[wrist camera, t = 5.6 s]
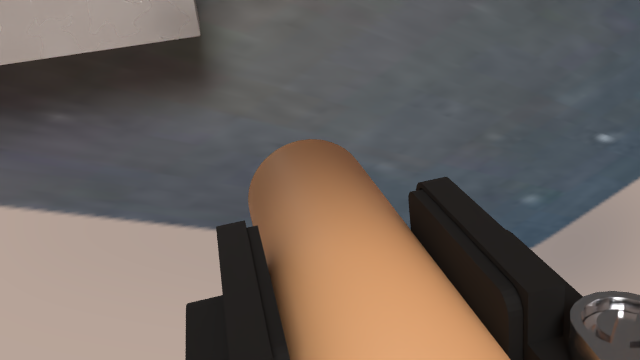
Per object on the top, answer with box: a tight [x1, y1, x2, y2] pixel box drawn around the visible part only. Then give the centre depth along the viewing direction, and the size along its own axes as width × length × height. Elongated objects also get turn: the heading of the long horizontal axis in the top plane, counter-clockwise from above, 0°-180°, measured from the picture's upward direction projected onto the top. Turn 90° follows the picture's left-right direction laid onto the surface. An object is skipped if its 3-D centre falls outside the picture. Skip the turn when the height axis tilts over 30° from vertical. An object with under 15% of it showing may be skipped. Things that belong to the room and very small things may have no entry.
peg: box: [248, 139, 510, 360], centre depth 10 cm, size 3×3×10 cm
